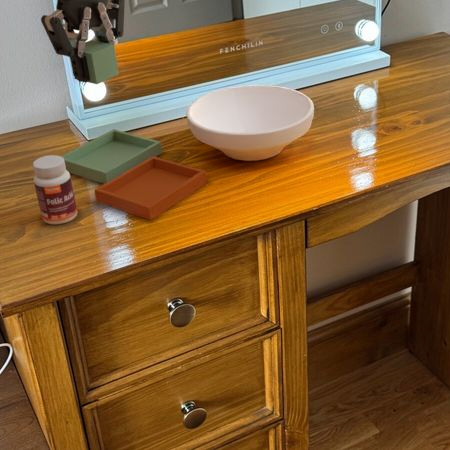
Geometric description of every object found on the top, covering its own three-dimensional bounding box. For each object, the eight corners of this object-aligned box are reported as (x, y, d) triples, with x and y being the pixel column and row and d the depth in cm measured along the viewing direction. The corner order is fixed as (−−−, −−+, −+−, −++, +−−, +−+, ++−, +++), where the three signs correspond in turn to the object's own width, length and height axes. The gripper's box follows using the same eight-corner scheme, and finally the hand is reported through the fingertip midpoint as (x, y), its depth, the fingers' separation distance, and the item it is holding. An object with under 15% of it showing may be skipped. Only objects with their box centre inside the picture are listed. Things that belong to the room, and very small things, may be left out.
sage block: (96, 84, 109) (91, 53, 106) (74, 79, 111) (68, 49, 108) (119, 74, 112) (114, 44, 109) (97, 69, 114) (91, 39, 112)
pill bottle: (52, 229, 102) (39, 173, 97) (36, 216, 105) (23, 161, 100) (84, 216, 104) (73, 161, 100) (67, 204, 108) (56, 150, 103)
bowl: (207, 188, 110) (202, 143, 107) (179, 136, 126) (174, 95, 122) (333, 164, 116) (333, 120, 112) (291, 117, 131) (289, 77, 128)
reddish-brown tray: (150, 220, 103) (148, 207, 102) (96, 202, 108) (94, 189, 107) (207, 183, 112) (205, 170, 111) (154, 167, 117) (152, 155, 116)
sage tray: (107, 185, 112) (105, 173, 111) (59, 169, 117) (56, 157, 116) (162, 153, 121) (161, 141, 120) (115, 140, 126) (113, 128, 125)
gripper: (93, -60, 109) (112, 56, 118) (12, -39, 99) (40, 86, 108) (132, -55, 105) (149, 64, 114) (53, -33, 95) (78, 96, 104)
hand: (96, 74), depth 111 cm, fingers closed on sage block, 4 cm apart
